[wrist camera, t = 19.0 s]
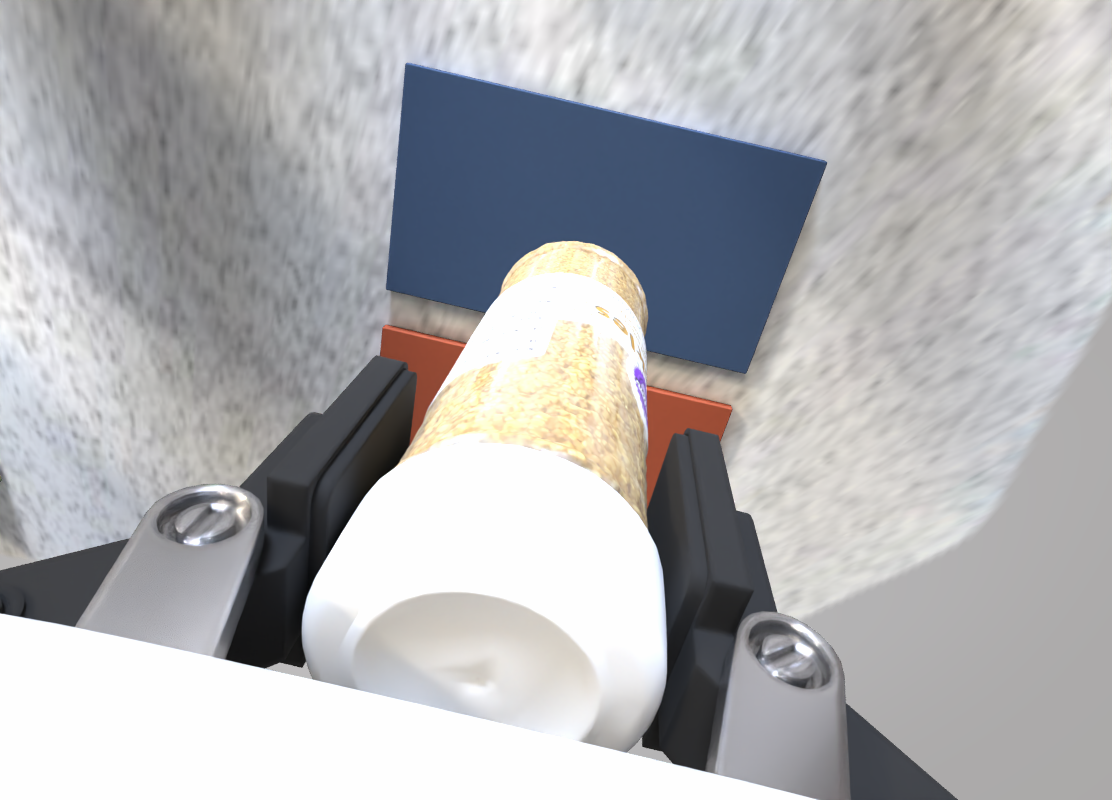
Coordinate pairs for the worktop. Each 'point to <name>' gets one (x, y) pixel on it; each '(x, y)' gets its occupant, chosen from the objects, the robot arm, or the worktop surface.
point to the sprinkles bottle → (515, 525)
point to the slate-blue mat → (594, 207)
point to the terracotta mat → (663, 406)
